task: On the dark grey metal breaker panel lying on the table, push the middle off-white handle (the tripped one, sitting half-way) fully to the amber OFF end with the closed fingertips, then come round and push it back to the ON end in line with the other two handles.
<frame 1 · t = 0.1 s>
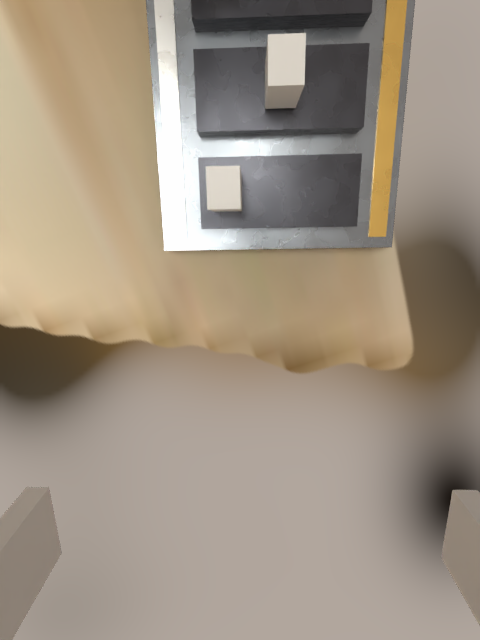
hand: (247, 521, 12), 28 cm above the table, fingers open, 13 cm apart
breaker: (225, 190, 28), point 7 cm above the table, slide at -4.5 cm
panel: (276, 106, 33), on the table
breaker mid: (283, 75, 26), point 7 cm above the table, slide at 0.0 cm
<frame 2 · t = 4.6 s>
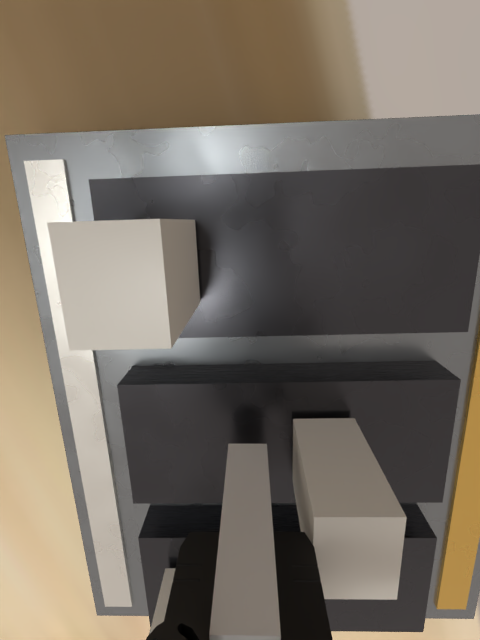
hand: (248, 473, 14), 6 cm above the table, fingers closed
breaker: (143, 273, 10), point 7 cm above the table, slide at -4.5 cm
panel: (277, 396, 19), on the table
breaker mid: (336, 494, 12), point 7 cm above the table, slide at 1.5 cm, touching gripper
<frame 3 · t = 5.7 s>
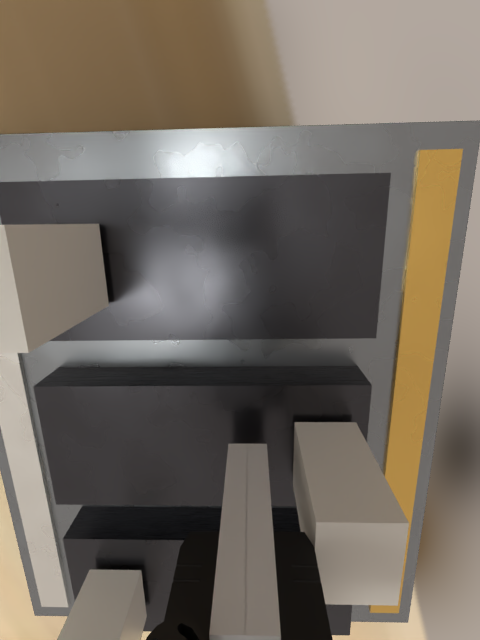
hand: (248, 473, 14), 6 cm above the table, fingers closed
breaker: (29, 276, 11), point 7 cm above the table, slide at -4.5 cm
panel: (213, 398, 20), on the table
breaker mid: (337, 498, 12), point 7 cm above the table, slide at 5.1 cm, touching gripper
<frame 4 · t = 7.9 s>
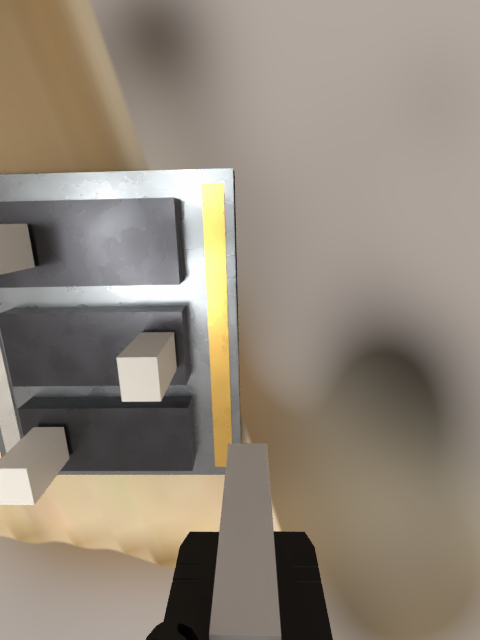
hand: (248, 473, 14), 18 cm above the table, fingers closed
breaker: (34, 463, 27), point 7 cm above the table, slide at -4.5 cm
panel: (115, 332, 31), on the table
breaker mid: (150, 364, 24), point 7 cm above the table, slide at 5.1 cm
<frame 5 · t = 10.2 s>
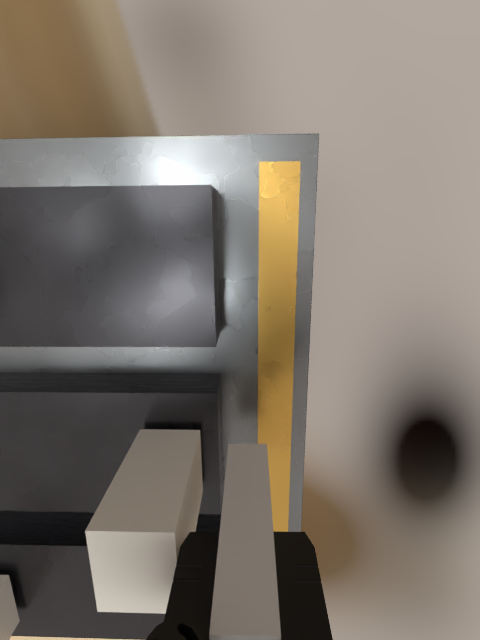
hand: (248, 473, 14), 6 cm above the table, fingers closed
panel: (101, 404, 20), on the table
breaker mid: (156, 506, 12), point 7 cm above the table, slide at 5.0 cm, touching gripper
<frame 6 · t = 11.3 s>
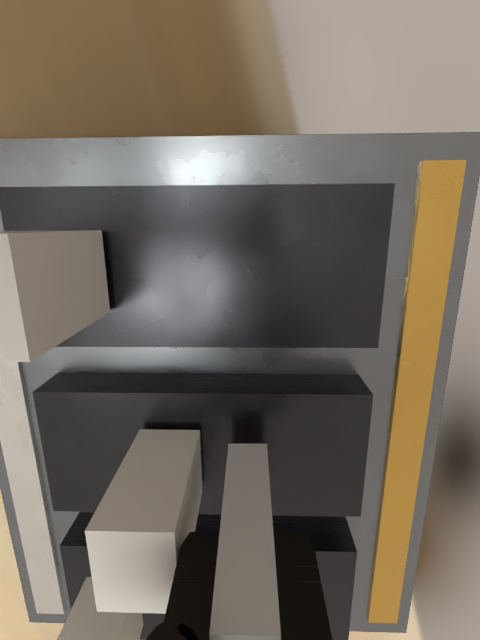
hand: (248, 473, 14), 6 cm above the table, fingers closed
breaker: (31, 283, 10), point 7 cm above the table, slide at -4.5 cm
panel: (213, 405, 19), on the table
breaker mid: (156, 506, 12), point 7 cm above the table, slide at -1.3 cm, touching gripper
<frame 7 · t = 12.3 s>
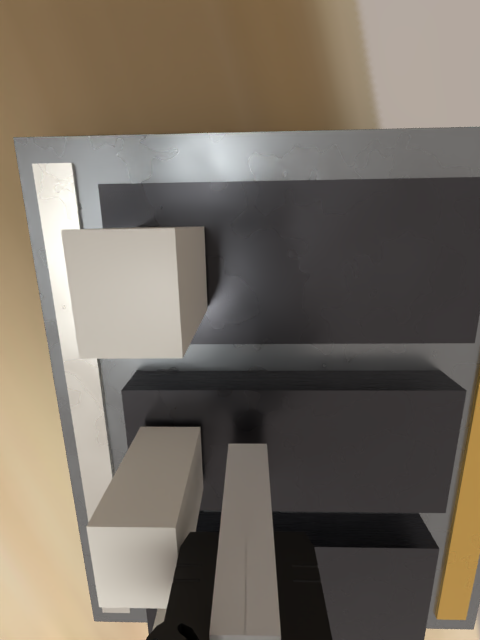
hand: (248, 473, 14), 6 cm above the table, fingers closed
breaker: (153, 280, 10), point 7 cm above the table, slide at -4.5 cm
panel: (280, 402, 19), on the table
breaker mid: (157, 502, 13), point 7 cm above the table, slide at -5.0 cm, touching gripper
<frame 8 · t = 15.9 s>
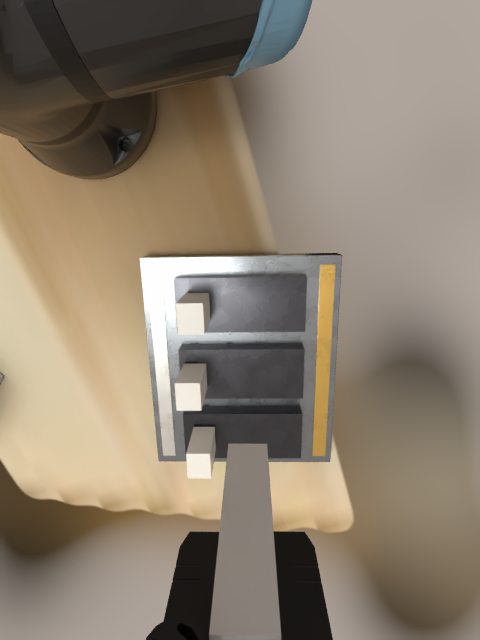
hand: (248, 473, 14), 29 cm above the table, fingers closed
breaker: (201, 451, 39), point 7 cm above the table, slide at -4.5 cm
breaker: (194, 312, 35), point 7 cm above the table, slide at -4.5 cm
panel: (242, 359, 44), on the table
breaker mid: (192, 385, 37), point 7 cm above the table, slide at -5.2 cm
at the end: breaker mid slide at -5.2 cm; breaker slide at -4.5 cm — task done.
